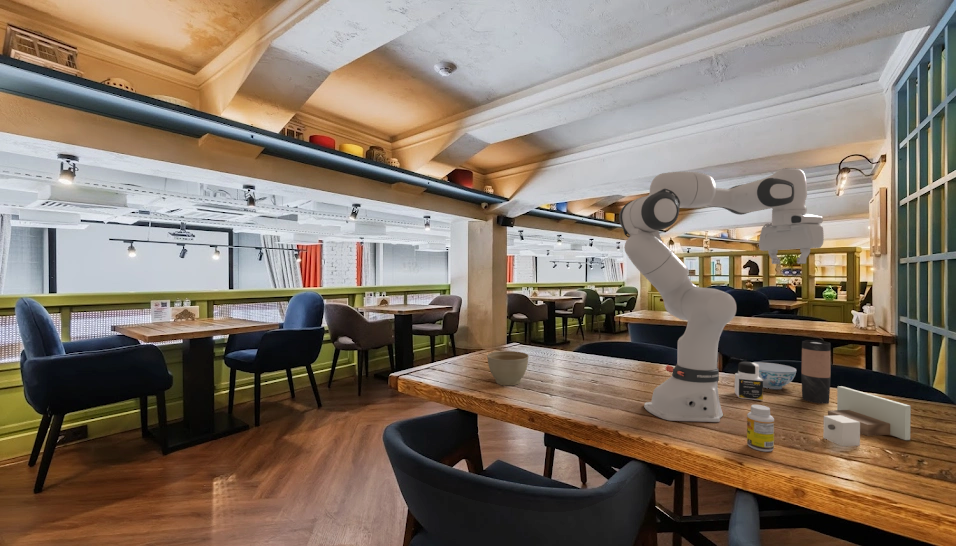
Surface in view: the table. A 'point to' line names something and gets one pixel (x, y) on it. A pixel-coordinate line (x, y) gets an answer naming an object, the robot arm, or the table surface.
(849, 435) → the cabinet block
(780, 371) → the chinaware
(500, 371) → the planter bowl
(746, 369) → the medicine bottle
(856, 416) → the cleat ledge
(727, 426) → the table surface
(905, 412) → the wall board
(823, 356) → the travel mug
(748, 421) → the supplement bottle
